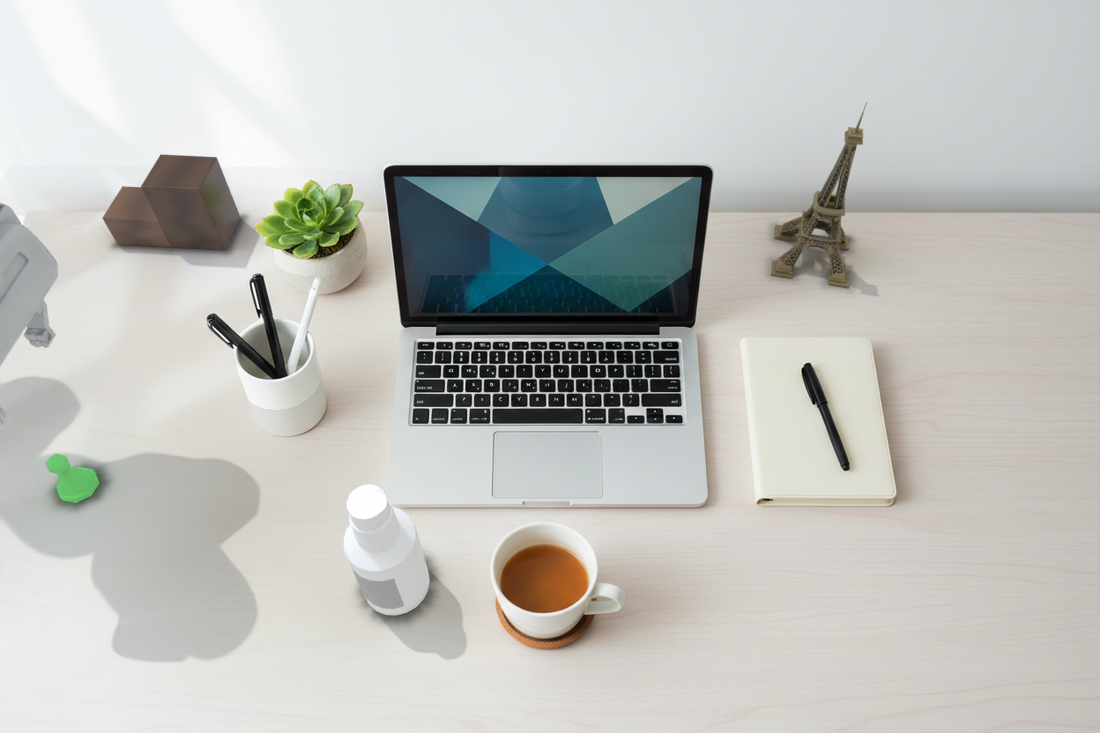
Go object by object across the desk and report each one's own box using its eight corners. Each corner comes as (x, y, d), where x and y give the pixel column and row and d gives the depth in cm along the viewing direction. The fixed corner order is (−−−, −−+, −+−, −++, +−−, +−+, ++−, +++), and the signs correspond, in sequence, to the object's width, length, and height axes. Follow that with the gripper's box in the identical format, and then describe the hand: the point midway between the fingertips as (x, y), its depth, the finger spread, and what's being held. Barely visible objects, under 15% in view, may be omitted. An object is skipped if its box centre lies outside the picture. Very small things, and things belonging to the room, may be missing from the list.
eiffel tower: (847, 237, 115) (910, 83, 95) (848, 287, 108) (915, 134, 89) (775, 226, 116) (822, 72, 96) (771, 275, 110) (820, 121, 90)
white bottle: (365, 557, 83) (328, 470, 69) (429, 551, 83) (406, 463, 69) (362, 620, 79) (323, 541, 65) (430, 613, 79) (406, 533, 65)
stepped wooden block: (117, 244, 113) (81, 183, 104) (136, 212, 117) (103, 151, 108) (225, 250, 112) (199, 189, 103) (241, 217, 116) (216, 156, 108)
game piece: (96, 499, 87) (71, 472, 82) (55, 506, 86) (27, 479, 82) (102, 466, 90) (77, 438, 85) (62, 473, 89) (35, 445, 84)
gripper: (-38, 189, 69) (40, 297, 80) (-189, 372, 56) (-71, 471, 67) (32, 193, 68) (101, 300, 79) (-104, 377, 56) (0, 475, 67)
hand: (21, 380), depth 73 cm, fingers open, 8 cm apart
